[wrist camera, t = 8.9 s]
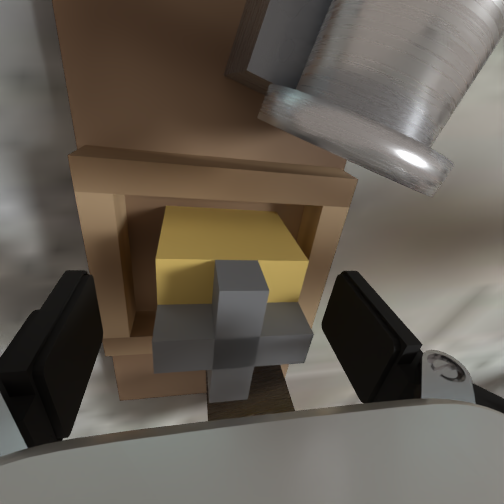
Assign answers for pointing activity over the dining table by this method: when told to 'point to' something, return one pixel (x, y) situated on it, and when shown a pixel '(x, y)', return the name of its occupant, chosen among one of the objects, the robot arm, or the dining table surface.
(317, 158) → the bed
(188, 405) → the dining table surface
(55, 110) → the dining table surface
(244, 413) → the shaft
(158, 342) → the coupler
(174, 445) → the robot arm
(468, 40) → the shaft
